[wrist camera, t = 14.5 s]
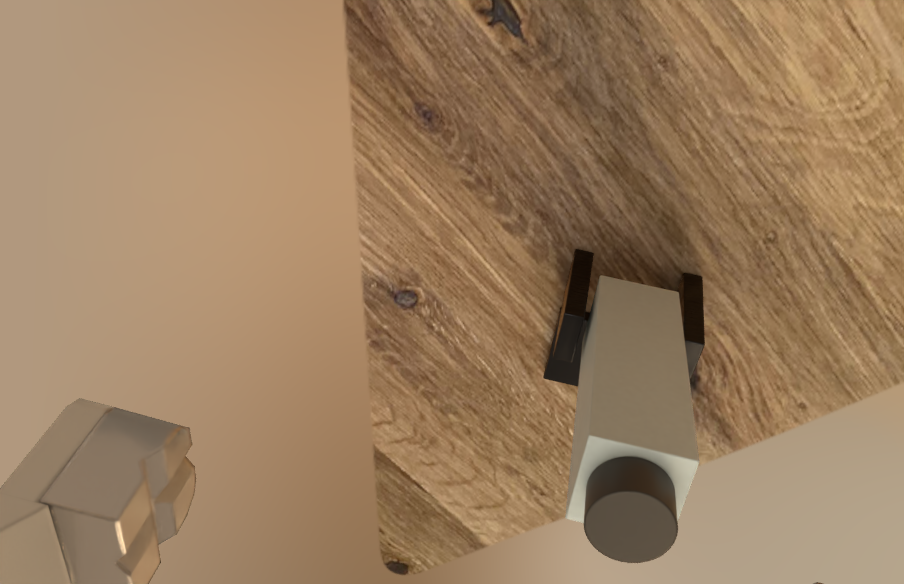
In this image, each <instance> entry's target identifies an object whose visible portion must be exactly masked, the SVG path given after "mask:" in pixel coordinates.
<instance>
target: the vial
mask: <svg viewBox="0 0 904 584" xmlns="http://www.w3.org/2000/svg"><path fill="white" fill-rule="evenodd" d="M698 465H699V454H698V446H697V438H696V430H695V422H694V413H693V405H692V397H691V389H690V381H689V373H688V364H687V356H686V348H685V340H684V332H683V324H682V315H681V307H680V299H679V292H676V291H671V290H667V289H662V288H658V287H653V286H648V285H644V284H639V283H635V282H630V281H626V280H621V279H616V278H612V277H607V276H603V275H600V277H599V281H598V285H597V288H596V292H595V296H594V300H593V304H592V307H591V311H590V315H589V319H588V323H587V327H586V330H585V334H584V338H583V343H582V353H581V363H580V374H579V384H578V394H577V404H576V414H575V425H574V435H573V445H572V455H571V465H570V476H569V486H568V496H567V506H566V516H565V517H566V519H569V520H573V521H578V522H582V523H584V530H585V533H586V536H587V538H588V539H589V541H590V543H591V544H592V545H593V546H594V547H595V548H596V549H597V550H598V551H599V552H601V553H602V554H603V555H605V556H607V557H609V558H611V559H614V560H618V561H621V562H627V563H641V562H646V561H650V560H654V559H656V558H658V557H660V556H662V555H663V554H664V553H666V552H667V551H668V550H669V549H670V548H671V546H672V545H673V543H674V542H675V539H676V537H677V533H678V525H677V524H678V523H677V522H678V520H679V517H680V514H681V511H682V509H683V506H684V503H685V500H686V498H687V495H688V492H689V489H690V487H691V484H692V481H693V478H694V476H695V473H696V470H697V467H698Z"/></svg>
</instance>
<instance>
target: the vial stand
mask: <svg viewBox="0 0 904 584" xmlns="http://www.w3.org/2000/svg"><path fill="white" fill-rule="evenodd" d="M593 255H594V254H593V253H591V252H586V251H581V250H577V249H576V250H575V253H574V257H573V261H572V264H571V268H570V272H569V276H568V280H567V284H566V288H565V292H564V298H563V303H562V307H561V308H560V312H559V316H558V320H557V324H556V328H555V332H554V336H553V340H552V344H551V348H550V352H549V355H548V359H547V363H546V367H545V372H544V379H548V380H553V381H557V382H561V383H566V384H570V385H574V386H578V384H579V374H580V363H581V353H582V343H583V338H584V334H585V330H586V327H587V323H588V319H589V315H590V313H588V312H585V311H586V304H587V297H588V290H589V283H590V276H591V269H592V262H593ZM677 292H679V299H680V307H681V315H682V324H683V332H684V340H685V348H686V356H687V364H688V373H689V381H690V380H691V377H692V375H693V372H694V370H695V368H696V365H697V363H698V360H699V358H700V355H701V353H702V350H703V348H704V345H705V340H704V310H703V280H702V277H701V276H696V275H692V274H687V273H684V274H683V277H682V280H681V282H680V285H679V288H678V291H677Z"/></svg>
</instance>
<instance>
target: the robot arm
mask: <svg viewBox="0 0 904 584" xmlns="http://www.w3.org/2000/svg"><path fill="white" fill-rule="evenodd" d="M191 446H192V440H191V434H190V429H189V428H188V427H184V426H181V425H177V424H173V423H170V422H166V421H163V420H159V419H155V418H152V417H148V416H144V415H141V414H137V413H133V412H129V411H126V410H123V409H119V408H116V407H112V406H108V405H104V404H100V403H96V402H92V401H88V400H84V399H80V398H79V399H78V400H76V401H74V402H73V403H71V404H70V405H68V406H67V407H66V408H65V409H64V410H63V412H62V413H61V414H60V415H59V416H58V418H57V419H56V420H55V421H54V423H53V424H52V425H51V427H50V428H49V429H48V430H47V431H46V433H45V434H44V435H43V436H42V437H41V439H40V440H39V441H38V442H37V444H36V445H35V446H34V447H33V449H32V450H31V451H30V452H29V454H28V455H27V456H26V457H25V458H24V460H23V461H22V462H21V464H20V465H19V466H18V467H17V468H16V470H15V471H14V472H13V473H12V474H11V476H10V477H9V478H8V479H7V481H6V482H5V483H4V484H3V485H2V487H1V488H0V584H149V582H150V581H151V579H152V577H153V575H154V574H155V572H156V570H157V568H158V567H159V565H160V563H161V560H160V553H159V547H158V545H159V544H161V543H162V542H164V541H166V540H167V539H169V538H171V537H173V536H174V535H176V534H177V533H178V531H179V529H180V528H181V526H182V524H183V522H184V520H185V518H186V516H187V514H188V511H189V508H190V505H191V502H192V499H193V496H194V492H195V483H196V474H195V466H194V465H193V464H192V463H191V462H190V461H189V459H188V458H187V457H186V454H187V452H188V450H189V449H190V447H191ZM814 584H822V583H818V582H817V583H814Z"/></svg>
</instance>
